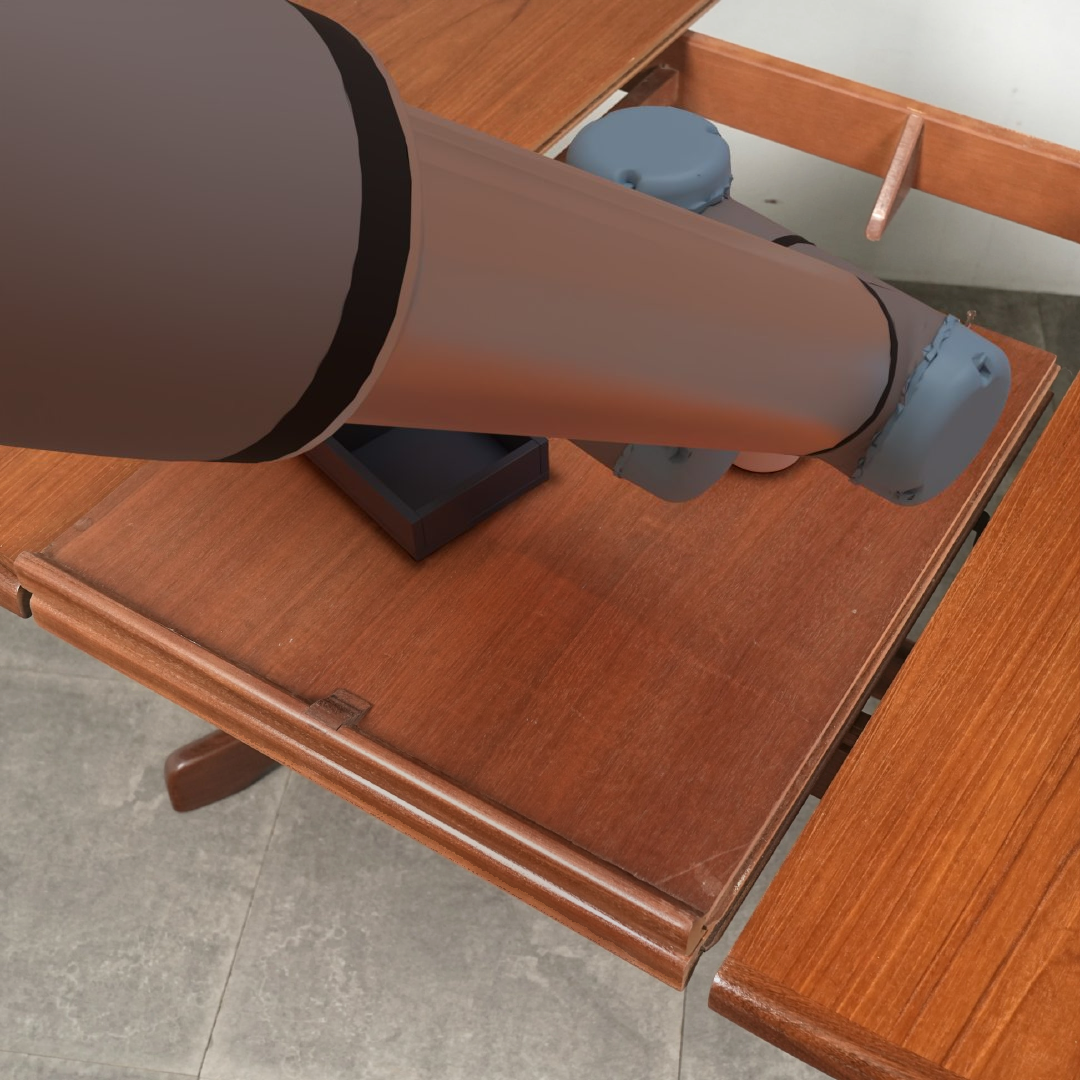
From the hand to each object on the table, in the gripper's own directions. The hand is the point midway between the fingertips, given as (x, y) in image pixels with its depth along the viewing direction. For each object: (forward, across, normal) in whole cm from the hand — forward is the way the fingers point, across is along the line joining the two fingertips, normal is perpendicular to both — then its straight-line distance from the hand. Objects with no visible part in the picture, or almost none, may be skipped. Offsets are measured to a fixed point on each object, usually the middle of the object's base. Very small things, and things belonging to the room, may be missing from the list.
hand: (267, 176), depth 80 cm
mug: (-28, +17, -17) cm, 37 cm away
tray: (-10, 0, -17) cm, 20 cm away
